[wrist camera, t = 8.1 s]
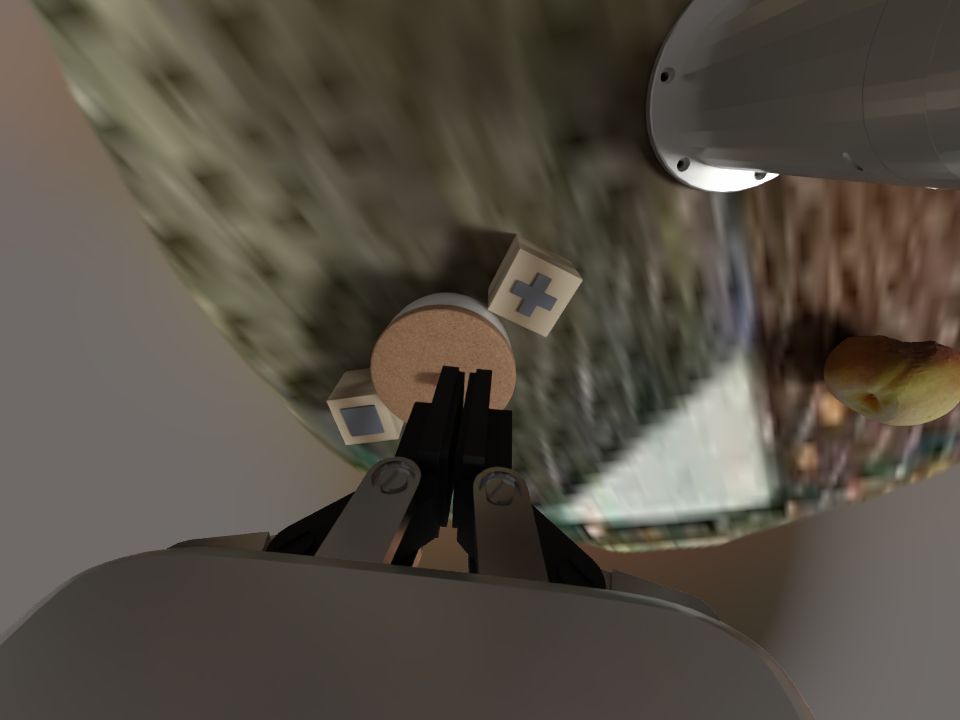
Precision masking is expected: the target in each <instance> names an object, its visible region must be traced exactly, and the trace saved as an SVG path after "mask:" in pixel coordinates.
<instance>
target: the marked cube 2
mask: <svg viewBox="0 0 960 720" xmlns="http://www.w3.org/2000/svg"><path fill="white" fill-rule="evenodd" d="M581 282H582V278H581V277H580V275H579V274H578V272H577V271H576V269H575V268H574V266H573V265H572V264H571V262H570V261H568V260H566V259H564V258H562V257H560V256H558V255H556V254H554V253H552V252H551V251H549V250H547V249H545V248H543V247H541V246H539V245H537V244H535V243H533V242H531V241H529V240H527V239H525V238H523V237H521V236H519V235H517V234H516V235H515V237H514V239H513V241H512V243H511V245H510V247H509V249H508V251H507V253H506V255H505V257H504V259H503V261H502V263H501V265H500V267H499V269H498V271H497V273H496V275H495V276H494V278H493V280H492V282H491V284H490V286H489V288H488V310H489V311H491V312H493V313H495V314H497V315H500V316H502V317H504V318H506V319H508V320H510V321H513V322H515V323H517V324H519V325H521V326H523V327H526V328H528V329H530V330H532V331H534V332H536V333H539V334H541V335H543V336H545V337H547V336H548V334H549V332H550V331H551V329H552V328H553V326H554V324H555V323H556V321H557V320H558V318H559V317H560V315H561V313H562V312H563V310H564V309H565V307H566V306H567V304H568V302H569V301H570V299H571V298H572V296H573V294H574V293H575V291H576V290H577V288H578V287H579V285H580V283H581Z"/></svg>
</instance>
